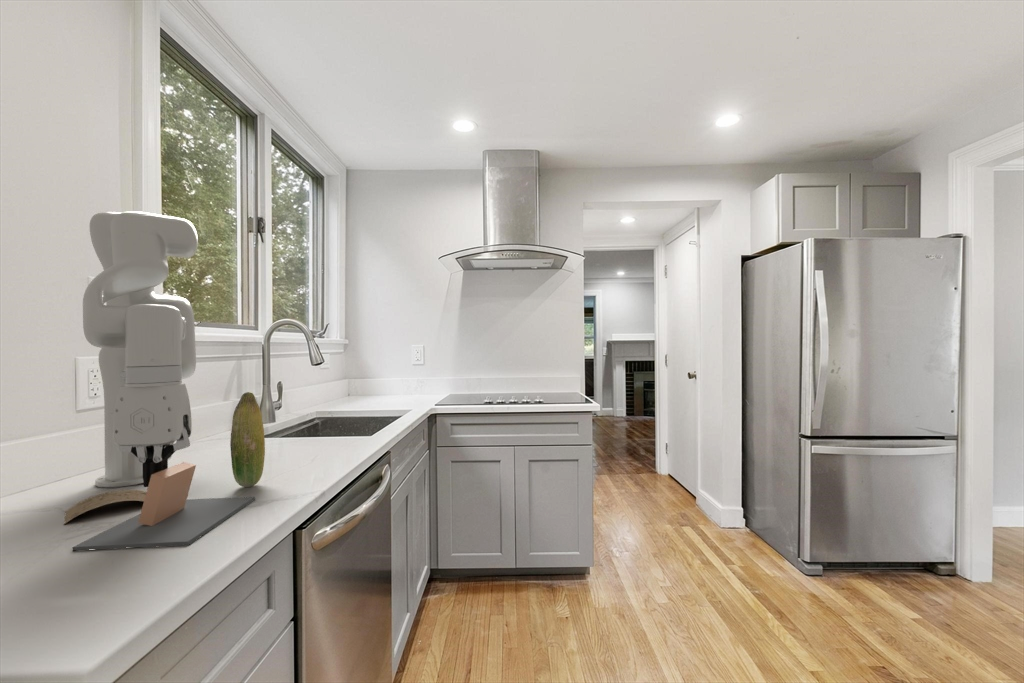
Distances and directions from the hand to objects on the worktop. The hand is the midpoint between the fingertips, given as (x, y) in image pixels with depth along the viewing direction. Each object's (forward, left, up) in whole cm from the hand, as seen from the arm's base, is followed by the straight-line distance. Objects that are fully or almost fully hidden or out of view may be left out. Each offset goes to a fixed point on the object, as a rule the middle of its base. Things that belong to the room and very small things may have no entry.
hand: (155, 484), depth 76 cm
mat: (+1, +4, -6) cm, 7 cm away
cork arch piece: (-8, -13, -7) cm, 17 cm away
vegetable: (-17, +7, -6) cm, 20 cm away
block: (0, +1, -5) cm, 5 cm away
